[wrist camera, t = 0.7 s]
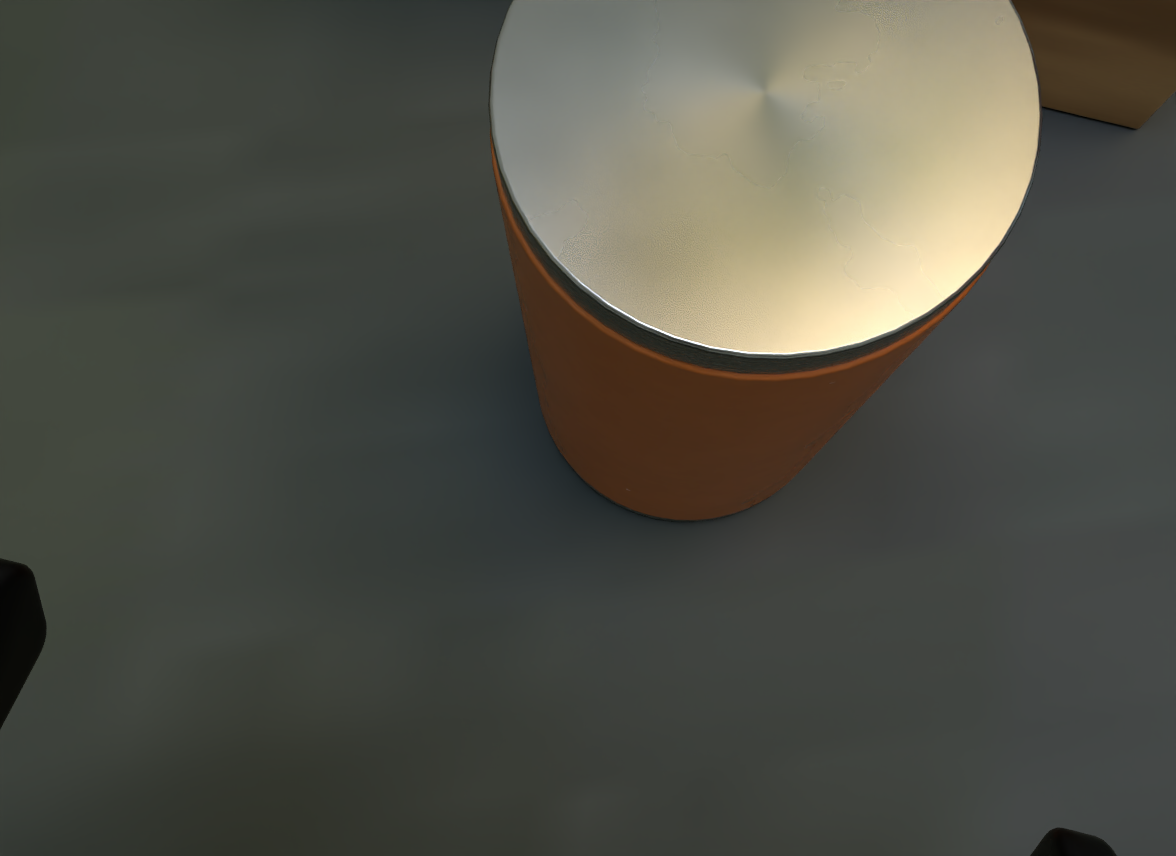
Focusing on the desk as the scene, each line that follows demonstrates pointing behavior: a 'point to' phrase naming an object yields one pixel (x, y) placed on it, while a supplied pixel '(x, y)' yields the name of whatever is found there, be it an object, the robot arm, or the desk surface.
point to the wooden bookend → (1103, 56)
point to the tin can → (745, 219)
